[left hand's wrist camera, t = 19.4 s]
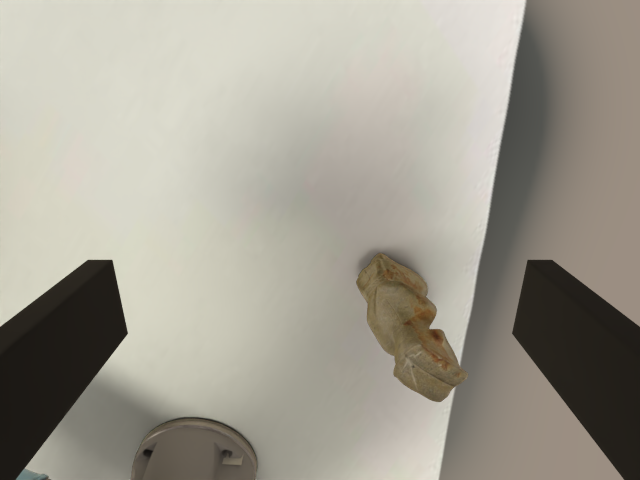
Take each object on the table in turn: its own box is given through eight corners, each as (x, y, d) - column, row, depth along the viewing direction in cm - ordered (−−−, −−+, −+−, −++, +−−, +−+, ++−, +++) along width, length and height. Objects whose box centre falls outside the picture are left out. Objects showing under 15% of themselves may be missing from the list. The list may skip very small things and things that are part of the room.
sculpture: (394, 314, 43) (429, 424, 29) (344, 275, 42) (356, 373, 28) (432, 277, 42) (489, 375, 28) (383, 235, 40) (416, 318, 26)
